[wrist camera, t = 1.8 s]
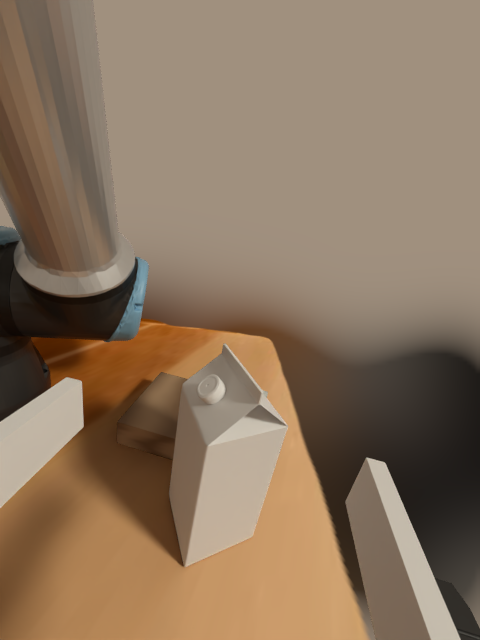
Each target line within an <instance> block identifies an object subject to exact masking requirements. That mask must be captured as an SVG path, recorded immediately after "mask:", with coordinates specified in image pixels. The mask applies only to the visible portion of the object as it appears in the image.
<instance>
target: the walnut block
mask: <svg viewBox="0 0 480 640" xmlns="http://www.w3.org/2000/svg"><path fill="white" fill-rule="evenodd" d="M187 380H188V379H185V378H181V377H178V376H174V375H170V374H167V373H163V372H161V373H160V374H159V375H158V376H157V377H156V378H155V380H154V381H153V382H152V383H151V384H150V385H149V386H148V388H147V389H146V390H145V391H144V392H143V393H142V394H141V395H140V397H139V398H138V399H137V400H136V401H135V402H134V403H133V405H132V406H131V407H130V408H129V409H128V410H127V411H126V412H125V414H124V415H123V416H122V417H121V418H120V419H119V420H118V422H117V443H119V444H122V445H125V446H129V447H132V448H135V449H138V450H142V451H145V452H148V453H152V454H155V455H158V456H161V457H165V458H168V459H171V460H173V456H174V447H175V439H176V431H177V423H178V414H179V406H180V398H181V390H182V385H183V383H184V382H185V381H187Z"/></svg>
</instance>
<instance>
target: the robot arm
mask: <svg viewBox="0 0 480 640" xmlns="http://www.w3.org/2000/svg"><path fill="white" fill-rule="evenodd" d="M0 197H1V199H2V201H3V203H4V205H5V207H6V209H7V211H8V213H9V215H10V217H11V219H12V221H13V223H14V225H15V227H16V230H17V231H16V230H15V229H13V228H8V227H4V226H0V508H1V507H2V506H3V505H4V504H5V503H6V502H7V501H8V500H9V499H10V498H11V497H12V496H13V495H14V494H15V493H16V492H17V491H18V490H19V489H20V488H21V487H22V486H23V485H24V484H25V483H26V482H27V481H28V480H29V479H31V478H32V477H33V476H34V475H35V474H36V473H37V472H38V471H39V470H40V469H41V468H42V467H43V466H44V465H45V464H46V463H47V462H48V461H49V460H50V459H51V458H52V457H53V456H54V455H55V454H56V453H57V452H58V451H59V450H60V449H61V448H62V447H63V446H64V445H65V444H67V443H68V442H69V441H70V440H71V439H72V438H73V437H74V436H75V435H76V434H77V433H78V432H79V431H80V430H81V429H82V428H83V427H84V422H83V399H82V381H79V380H76V379H72V378H68V377H66V378H65V379H63V380H62V381H60V382H59V383H57V384H56V385H54V386H53V387H51V379H50V371H49V368H48V366H47V365H46V363H45V362H44V360H43V358H42V357H41V355H40V353H39V352H38V350H37V349H36V347H35V345H34V344H33V342H32V340H31V337H43V338H64V339H85V340H103V341H104V342H110V341H127V340H131V339H133V338H134V337H135V336H136V335H137V333H138V330H139V325H140V320H141V315H142V306H143V302H144V297H145V291H146V285H147V277H148V268H149V265H148V263H147V262H146V261H145V260H142V259H140V258H139V257H135V254H134V249H133V247H132V245H131V244H130V242H129V241H128V240H127V239H126V237H125V236H123V235H122V234H121V233H120V232H118V223H117V214H116V205H115V196H114V187H113V178H112V169H111V160H110V151H109V142H108V132H107V124H106V115H105V105H104V97H103V88H102V78H101V70H100V61H99V52H98V42H97V33H96V24H95V15H94V6H93V0H0ZM346 506H347V511H348V516H349V520H350V525H351V529H352V534H353V538H354V543H355V547H356V552H357V556H358V561H359V566H360V570H361V575H362V579H363V584H364V588H365V593H366V597H367V602H368V607H369V611H370V616H371V620H372V624H373V629H374V634H375V638H376V640H480V628H479V626H478V624H477V622H476V620H475V618H474V616H473V614H472V612H471V610H470V608H469V607H468V605H467V604H466V603H465V601H464V600H463V598H462V597H461V596H460V594H459V593H458V592H457V590H456V589H455V588H454V586H453V585H452V583H449V582H446V581H442V580H439V579H436V578H434V576H433V574H432V571H431V569H430V567H429V565H428V562H427V560H426V557H425V555H424V553H423V550H422V548H421V546H420V543H419V541H418V539H417V537H416V534H415V532H414V529H413V527H412V525H411V522H410V520H409V518H408V515H407V513H406V511H405V508H404V506H403V503H402V501H401V499H400V497H399V494H398V492H397V490H396V487H395V485H394V482H393V480H392V478H391V475H390V473H389V471H388V468H387V466H386V464H385V463H384V462H381V461H377V460H374V459H370V458H366V460H365V462H364V464H363V466H362V468H361V470H360V472H359V474H358V476H357V479H356V481H355V483H354V485H353V487H352V489H351V491H350V494H349V495H348V498H347V500H346Z"/></svg>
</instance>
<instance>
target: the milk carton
mask: <svg viewBox="0 0 480 640" xmlns="http://www.w3.org/2000/svg"><path fill="white" fill-rule="evenodd" d="M287 428H288V425H287V424H286V423H285V421H284V420H283V419H282V417H281V416H280V415H279V414H278V412H277V411H276V410H275V408H274V407H273V406H272V405H271V403H270V402H269V401H268V399H267V398H266V397H265V396H264V394H263V390H262V389H261V388H260V387H259V385H258V384H257V383H256V382H255V380H254V379H253V378H252V376H251V375H250V374H249V373H248V371H247V370H246V369H245V368H244V366H243V365H242V364H241V362H240V361H239V360H238V359H237V357H236V356H235V355H234V354H233V352H232V351H231V350H230V348H229V347H228V346H227V345H226V343H225V344H223V349H222V354H220V355H219V356H218V357H216V358H215V359H214V360H212V361H211V362H210V363H209V364H207V365H206V366H205V367H203V368H202V369H201V370H200V371H198V372H197V373H196V374H194V375H193V376H192V377H190V378H189V379H188V380H187V381H185V382H184V383H183V385H182V390H181V398H180V406H179V414H178V423H177V431H176V439H175V447H174V456H173V464H172V472H171V480H170V489H169V498H170V503H171V508H172V513H173V517H174V522H175V527H176V532H177V536H178V541H179V546H180V551H181V556H182V560H183V564H184V567H187V566H189V565H191V564H193V563H196V562H198V561H200V560H202V559H204V558H207V557H209V556H211V555H213V554H216V553H218V552H220V551H222V550H224V549H227V548H229V547H231V546H233V545H236V544H238V543H240V542H242V541H244V540H247V539H249V538H251V537H252V536H253V533H254V530H255V527H256V524H257V521H258V518H259V515H260V511H261V508H262V505H263V502H264V499H265V496H266V493H267V490H268V487H269V484H270V481H271V478H272V474H273V471H274V468H275V465H276V462H277V459H278V456H279V453H280V450H281V447H282V444H283V441H284V437H285V434H286V431H287Z"/></svg>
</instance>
